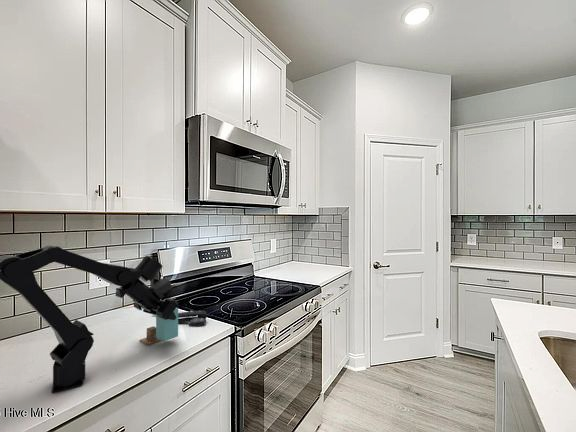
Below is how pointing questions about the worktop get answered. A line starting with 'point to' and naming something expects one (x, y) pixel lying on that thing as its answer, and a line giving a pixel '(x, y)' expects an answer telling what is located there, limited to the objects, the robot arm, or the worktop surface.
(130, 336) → the worktop surface
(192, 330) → the worktop surface
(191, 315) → the can opener
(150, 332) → the brown pedestal
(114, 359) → the worktop surface
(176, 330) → the teal rectangular block
